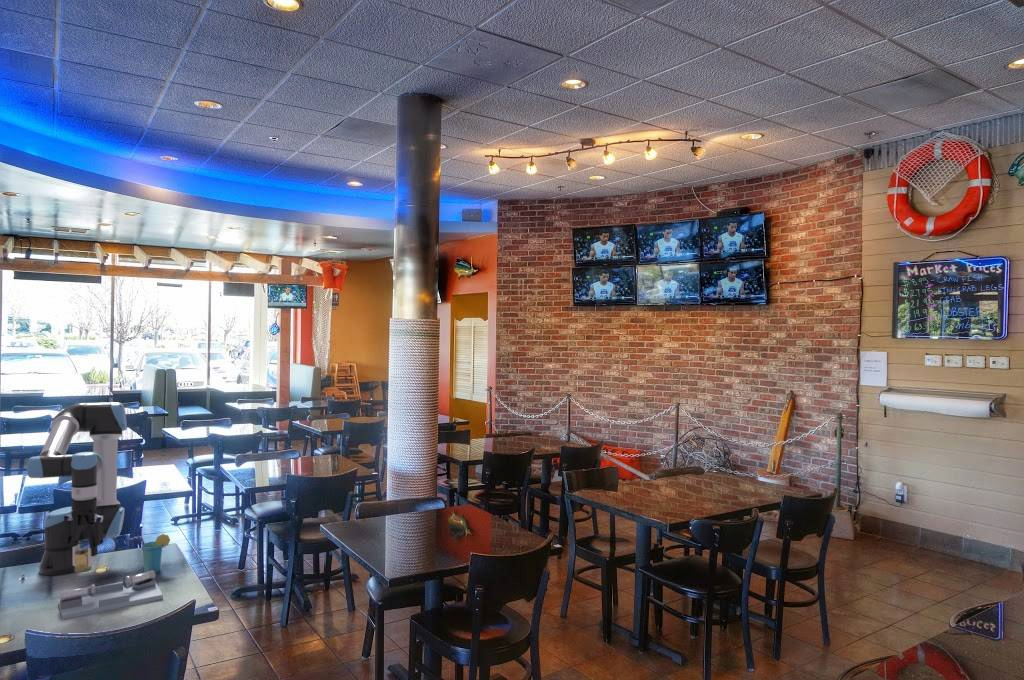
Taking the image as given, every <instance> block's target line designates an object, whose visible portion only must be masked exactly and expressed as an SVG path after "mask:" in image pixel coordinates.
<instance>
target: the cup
mask: <svg viewBox="0 0 1024 680" xmlns="http://www.w3.org/2000/svg"><path fill="white" fill-rule="evenodd" d="M136 539H139V540H140V542H141V543H142V544H141V550H142V556H143V566H144V567H143V568H144V573H145V572H148V571H152V570H154V571H155V572H157V573H159V572H160V571H161V563H162V554H163V553H162V551H163V548H166V547H167V546H168V545H169V544H170V541H171V538H170V537H169V535H168V534H164V533H163V534H162V533H161V534H160V535H158V536H157V538H155V539H156V540H155V541H149V542H145V540H144V538H143V537H142V536H140V535H136V536H134V537H131V538H129V540H130V541H134V540H136ZM159 570H160V571H159Z"/></svg>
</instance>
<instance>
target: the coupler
mask: <svg viewBox="0 0 1024 680" xmlns="http://www.w3.org/2000/svg"><path fill="white" fill-rule="evenodd" d="M88 547H89V546H85V547H81V549H80V550H77V553H75V572H74V573H79V574H80V573H81V574H82V573H86V572H89V571H92V568H93V565H92V566H90V567H89V566H88Z"/></svg>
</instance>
